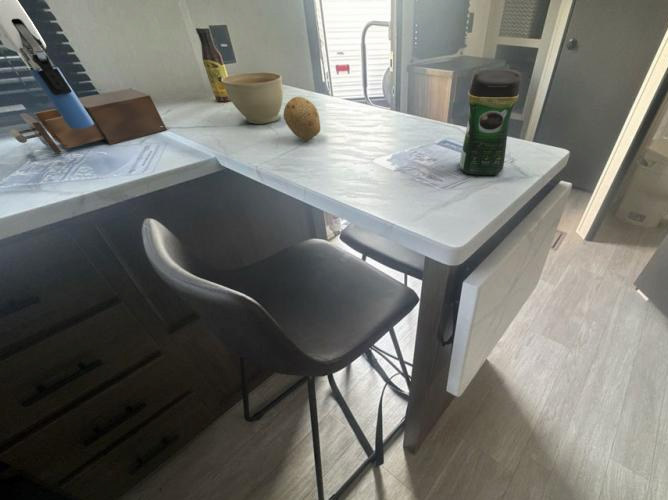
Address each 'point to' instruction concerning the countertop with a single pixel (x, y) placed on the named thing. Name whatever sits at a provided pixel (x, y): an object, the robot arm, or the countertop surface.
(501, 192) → the countertop surface
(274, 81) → the planter bowl
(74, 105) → the bottle
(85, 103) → the cabinet
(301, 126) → the potato
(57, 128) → the drawer
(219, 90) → the sauce bottle
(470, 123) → the coffee jar
